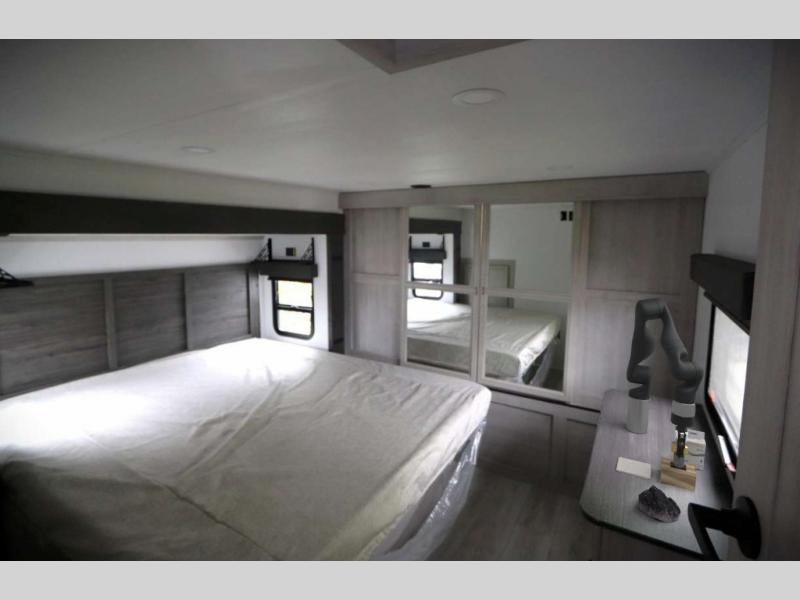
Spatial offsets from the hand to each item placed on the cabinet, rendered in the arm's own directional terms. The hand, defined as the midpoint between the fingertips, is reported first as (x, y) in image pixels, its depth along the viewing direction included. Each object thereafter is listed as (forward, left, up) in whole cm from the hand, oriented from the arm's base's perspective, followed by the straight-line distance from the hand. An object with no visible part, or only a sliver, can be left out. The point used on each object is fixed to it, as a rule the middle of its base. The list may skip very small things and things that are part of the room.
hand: (679, 451), depth 162 cm
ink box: (-16, +5, -12) cm, 21 cm away
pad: (-1, -15, -12) cm, 19 cm away
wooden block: (0, 0, -12) cm, 12 cm away
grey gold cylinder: (0, 0, -12) cm, 12 cm away
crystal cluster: (+26, -6, -12) cm, 29 cm away
